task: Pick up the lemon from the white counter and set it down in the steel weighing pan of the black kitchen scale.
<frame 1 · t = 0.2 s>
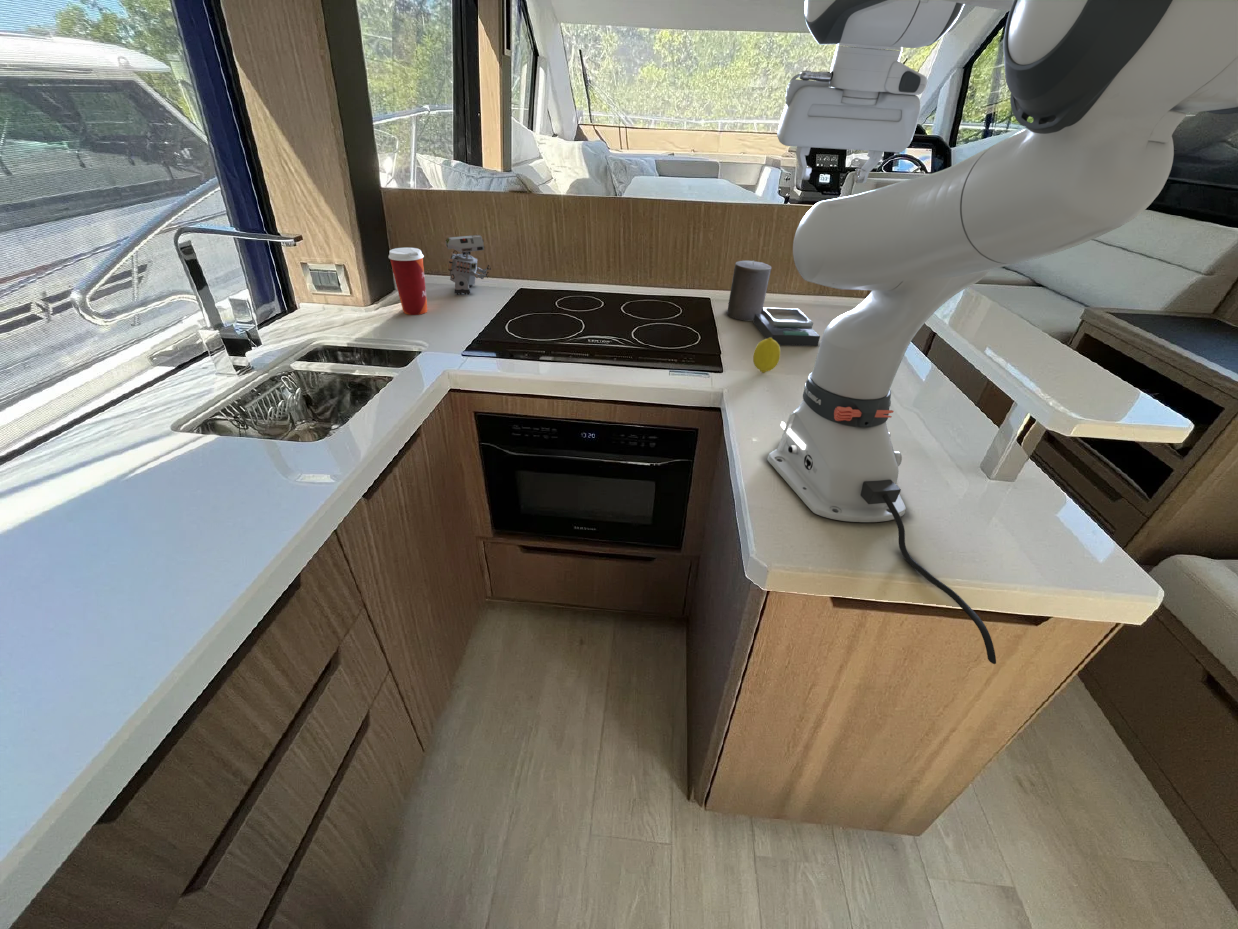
hand: (831, 180, 84), 38 cm above the table, tool pointing down, fingers open, 8 cm apart
scale: (783, 333, 137), on the table
figurine: (471, 291, 154), on the table
lemon: (762, 373, 115), on the table
coffee cup: (415, 311, 137), on the table
scale pan: (786, 317, 135), point 4 cm above the table, slide at 0.0 cm
pillar candle: (743, 316, 148), on the table
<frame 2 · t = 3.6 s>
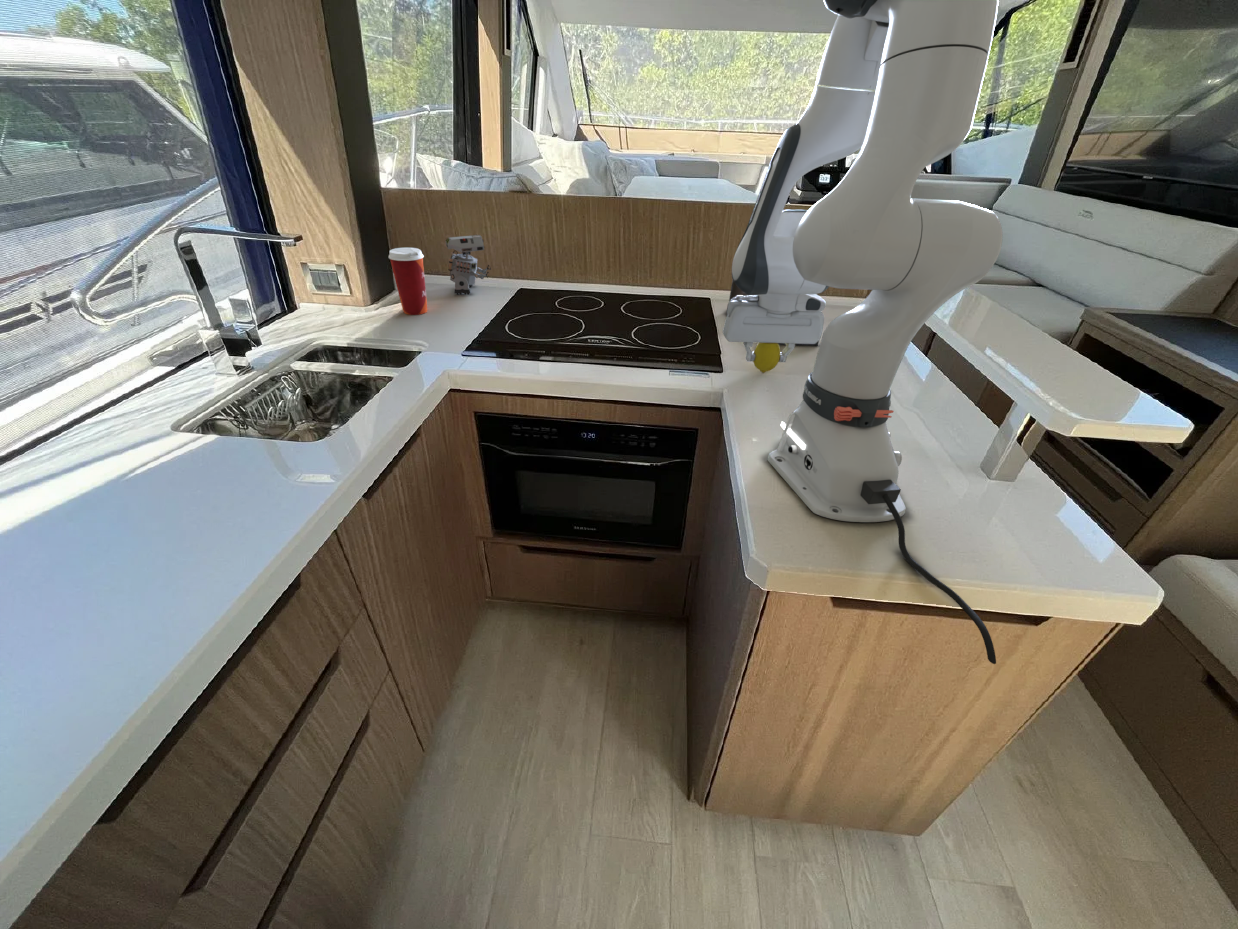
hand: (765, 360, 113), 3 cm above the table, tool pointing down, fingers closed on lemon, 5 cm apart
lemon: (762, 373, 115), on the table, touching gripper
everything else where it was.
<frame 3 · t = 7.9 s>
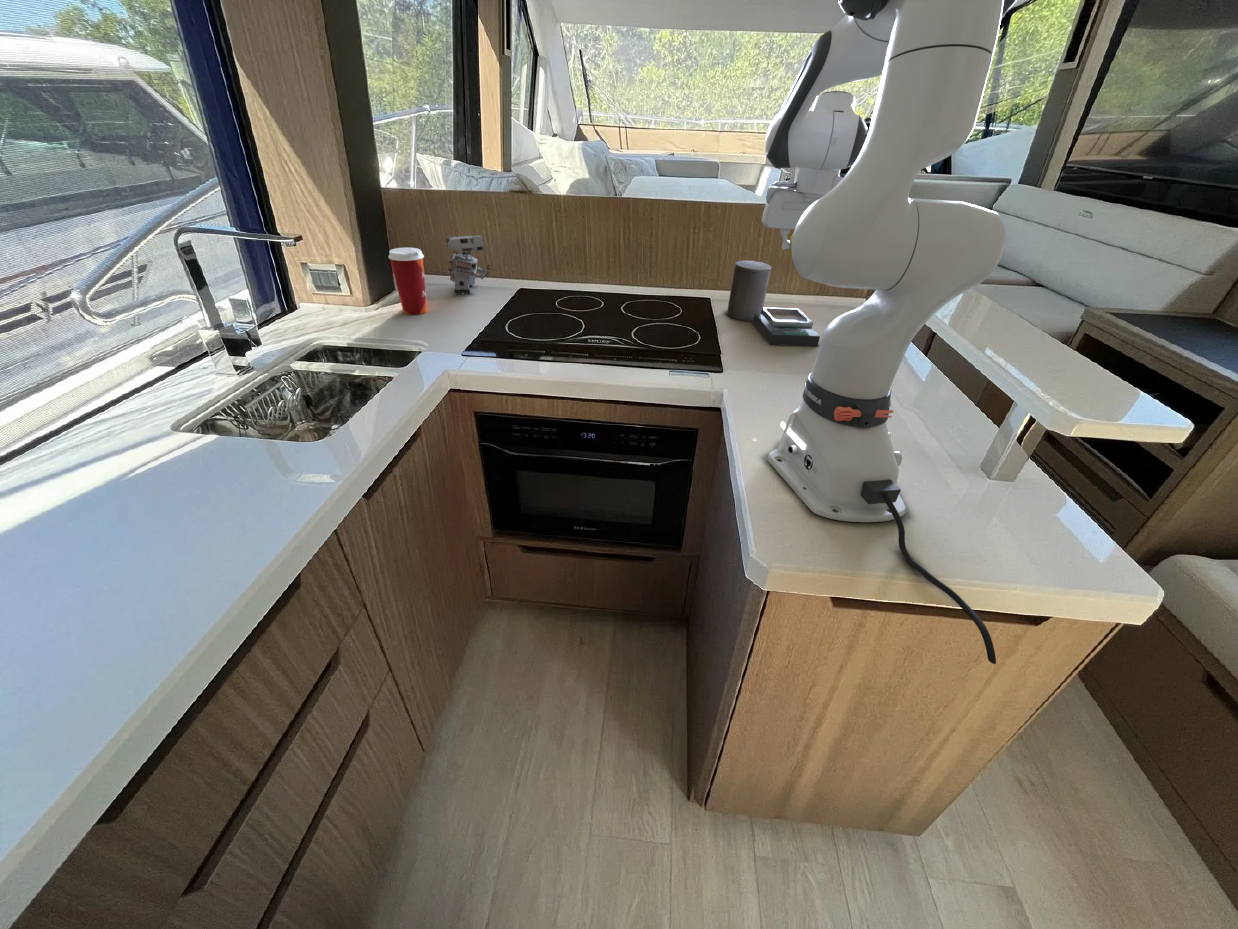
hand: (800, 249, 122), 21 cm above the table, tool pointing down, fingers closed on lemon, 5 cm apart
lemon: (796, 262, 124), point 18 cm above the table, touching gripper
everything else where it was.
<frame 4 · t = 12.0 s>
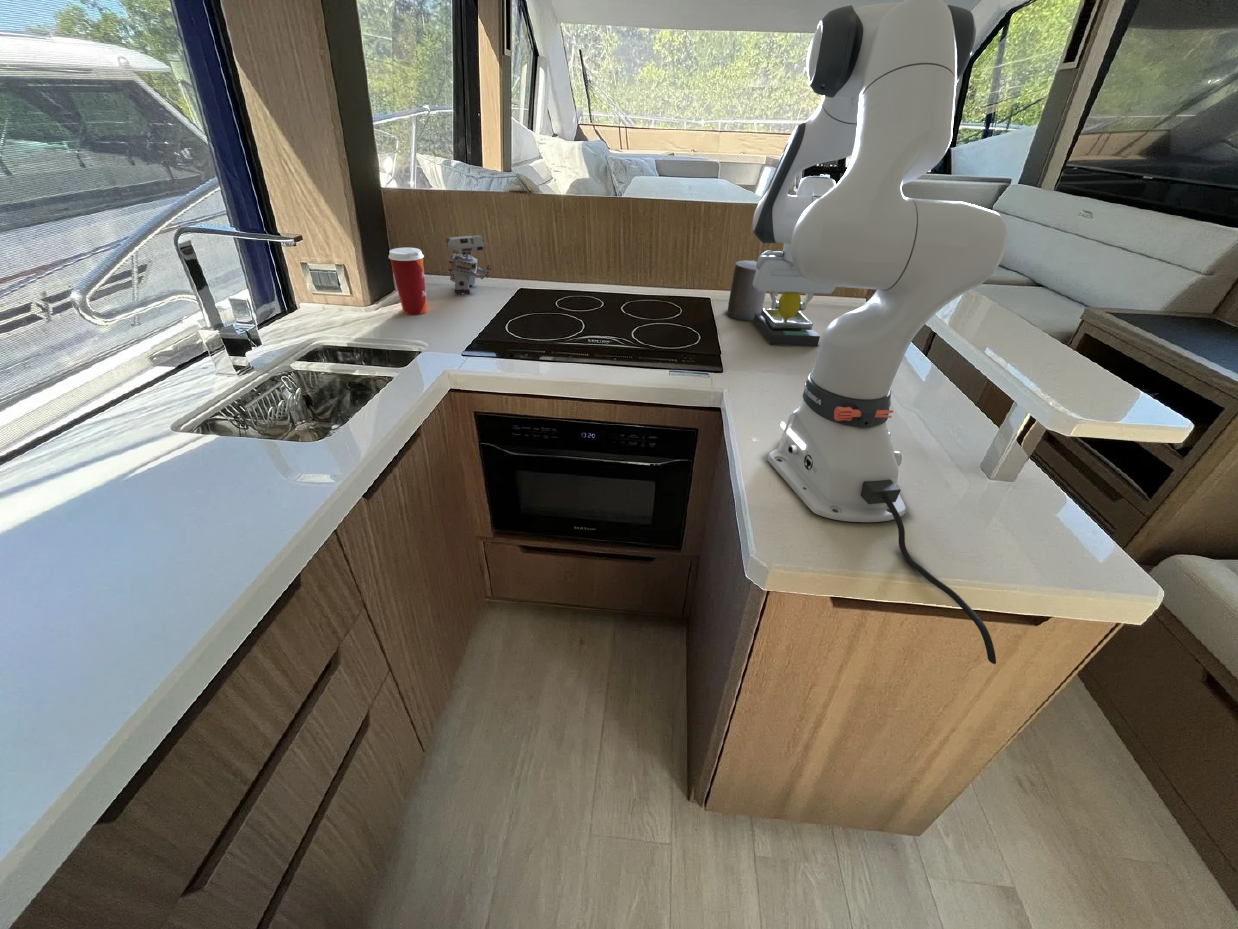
hand: (788, 309, 134), 6 cm above the table, tool pointing down, fingers closed on lemon, 5 cm apart
lemon: (785, 320, 135), point 3 cm above the table, touching gripper, scale pan
scale pan: (785, 318, 135), point 4 cm above the table, slide at -0.3 cm, touching lemon
everything else where it was.
when the fingers open (6 cm above the table, at t = 12.0 s): lemon stays where it is, resting on scale pan.
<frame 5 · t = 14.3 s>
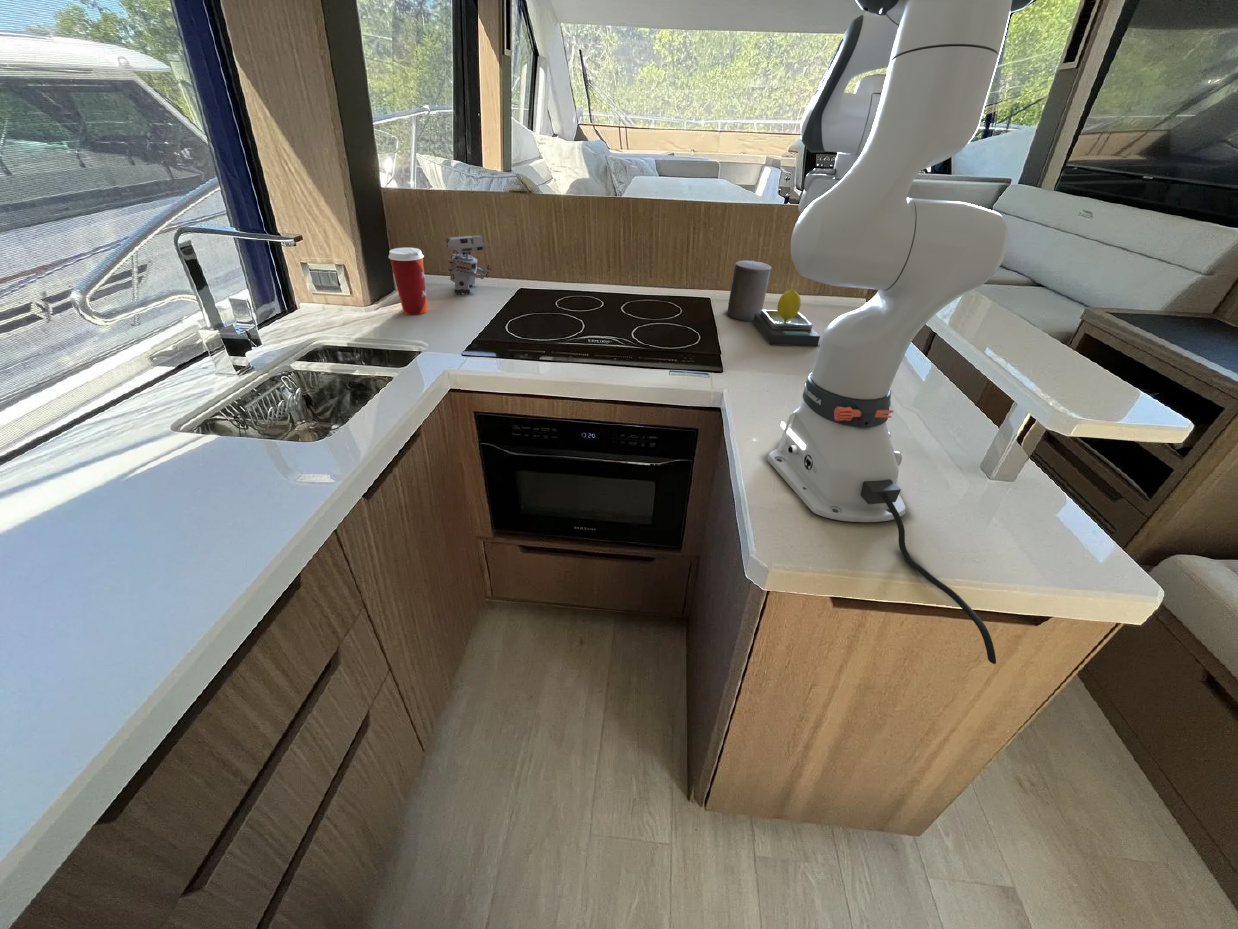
hand: (836, 239, 119), 24 cm above the table, tool pointing down, fingers open, 8 cm apart
lemon: (785, 321, 136), point 3 cm above the table, touching scale pan
scale pan: (785, 320, 135), point 3 cm above the table, slide at -0.6 cm, touching lemon, scale
everything else where it was.
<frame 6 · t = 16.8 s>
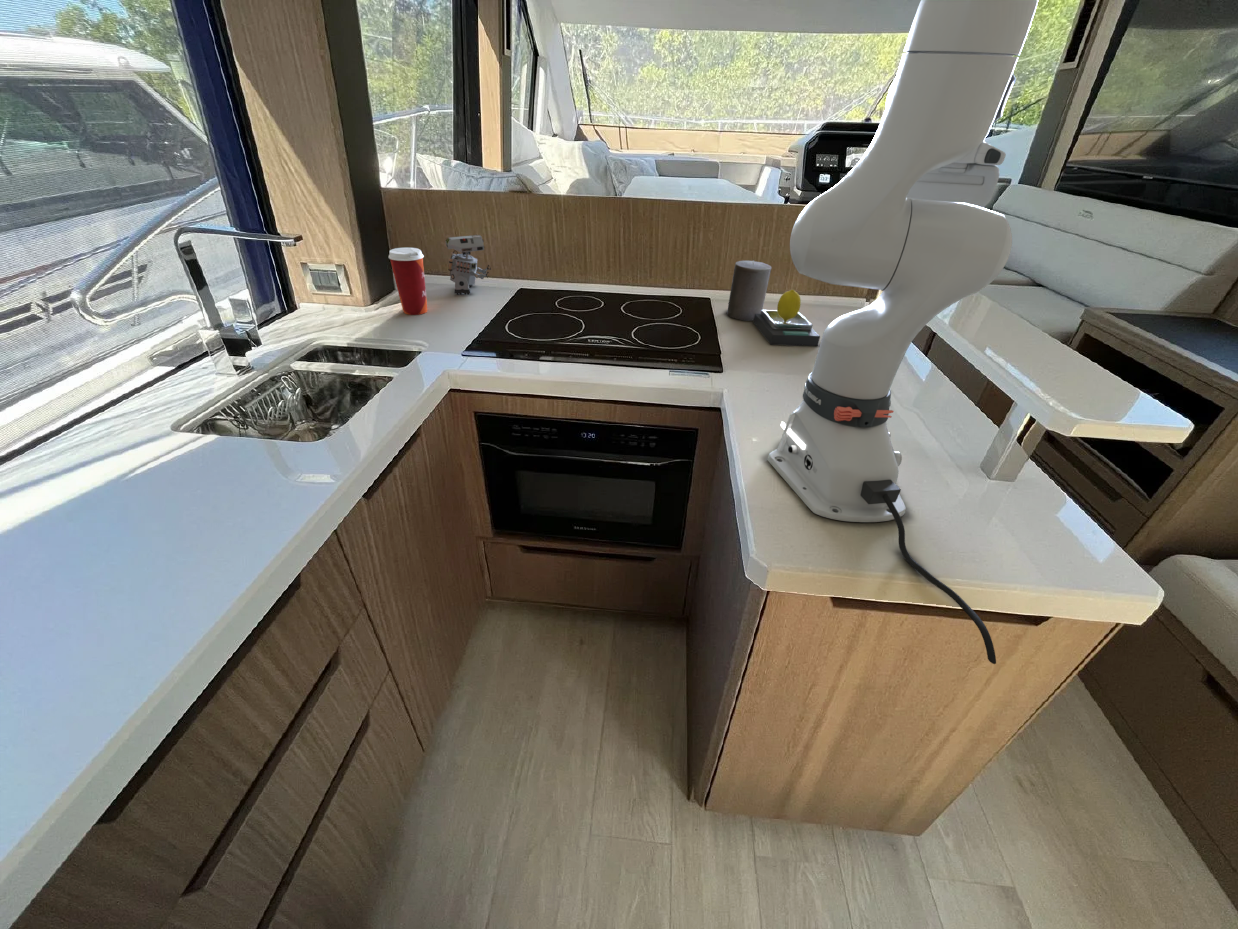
hand: (925, 229, 107), 29 cm above the table, tool pointing down, fingers open, 8 cm apart
nothing on the table moved.
at the end: lemon inside the target area on the scale (0.1 cm from its centre), point 2.9 cm above the scale's base; the gripper is holding nothing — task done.
